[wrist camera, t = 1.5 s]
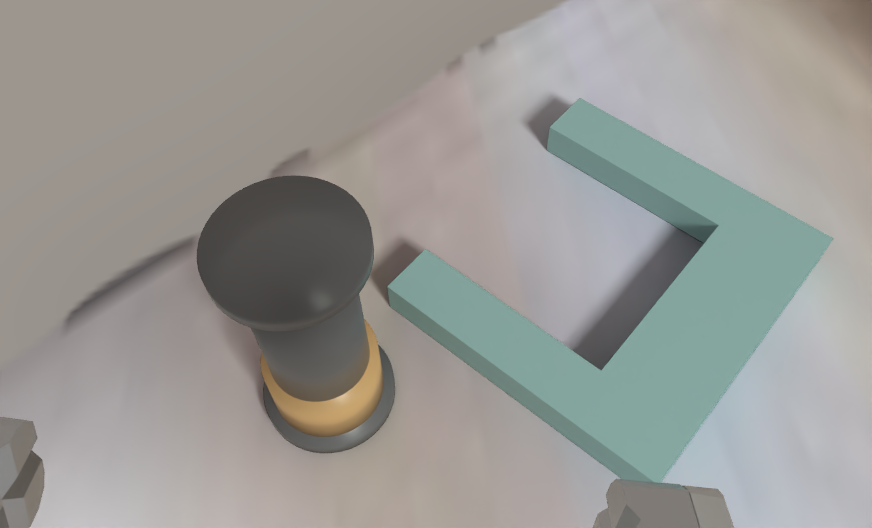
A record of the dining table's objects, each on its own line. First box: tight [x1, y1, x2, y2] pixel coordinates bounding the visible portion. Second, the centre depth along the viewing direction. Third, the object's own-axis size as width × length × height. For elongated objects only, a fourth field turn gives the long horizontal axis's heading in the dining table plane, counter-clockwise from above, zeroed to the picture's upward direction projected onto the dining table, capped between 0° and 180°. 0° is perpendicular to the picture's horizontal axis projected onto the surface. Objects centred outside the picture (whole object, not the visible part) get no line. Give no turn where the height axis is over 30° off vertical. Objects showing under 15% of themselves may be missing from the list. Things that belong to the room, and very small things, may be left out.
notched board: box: [387, 98, 833, 483], centre depth 43 cm, size 17×16×2 cm
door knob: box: [197, 176, 395, 453], centre depth 36 cm, size 6×6×13 cm
